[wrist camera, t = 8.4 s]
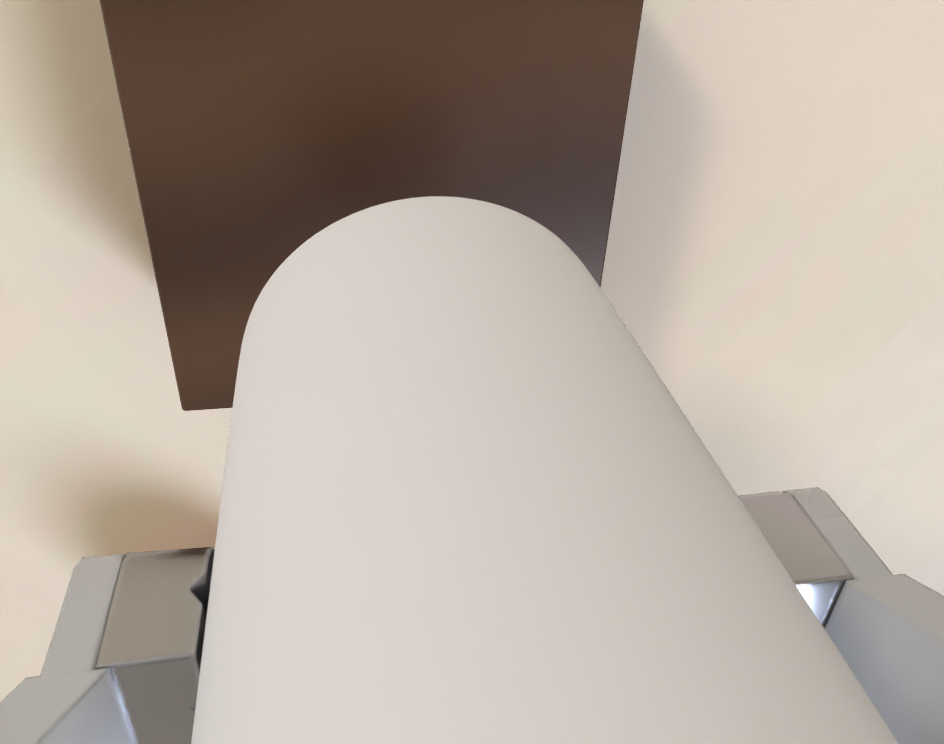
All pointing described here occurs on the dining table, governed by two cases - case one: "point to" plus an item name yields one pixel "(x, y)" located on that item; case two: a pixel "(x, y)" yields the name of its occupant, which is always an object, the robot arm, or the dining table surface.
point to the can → (487, 517)
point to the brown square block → (353, 134)
